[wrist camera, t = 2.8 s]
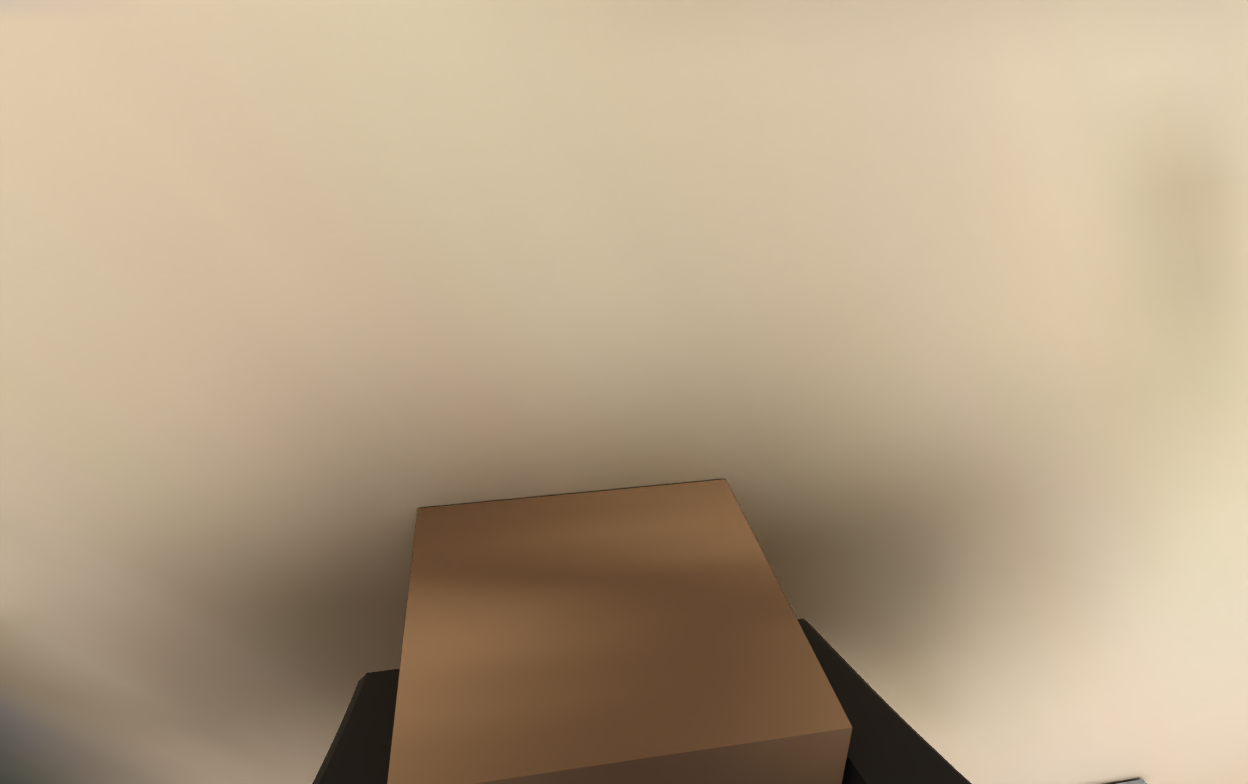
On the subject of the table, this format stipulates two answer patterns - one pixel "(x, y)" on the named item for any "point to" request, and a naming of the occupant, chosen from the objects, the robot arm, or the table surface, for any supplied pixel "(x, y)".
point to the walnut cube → (606, 648)
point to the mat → (1134, 782)
